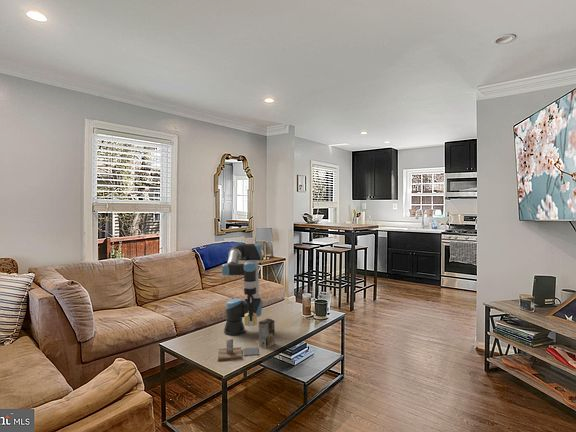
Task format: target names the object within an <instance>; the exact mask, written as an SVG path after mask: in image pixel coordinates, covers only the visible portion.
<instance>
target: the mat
mask: <svg viewBox="0 0 576 432" xmlns="http://www.w3.org/2000/svg"><path fill="white" fill-rule="evenodd" d="M259 354H260V353H259V349H258V347H248V348H247V347H246V348H245V347H244V348H243V357H249V356H259Z"/></svg>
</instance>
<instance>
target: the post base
mask: <svg viewBox="0 0 576 432" xmlns="http://www.w3.org/2000/svg"><path fill="white" fill-rule="evenodd" d="M242 359H243V355H242V347H241V346H238V347H234V339H233V338H227V339H226V348H219V349H218V355H217V362H222V361H236V360H242Z"/></svg>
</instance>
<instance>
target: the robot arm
mask: <svg viewBox="0 0 576 432" xmlns="http://www.w3.org/2000/svg"><path fill="white" fill-rule="evenodd" d="M261 246H262V245H261V244H260V243H240V244H236V245H234V246H233V247H231V248H230V249H229V250H228V253H227V256H228V259H227V262H226V263H223V264H222V265H221V274H222V276H227V277H229V276H243V283H242V285H243V288H244V289H243V294H244V295H246V297H245V298H244V300H243V298H232V299H229V300H228V301H227V302H226V304H225V312H226V313H225V314H226V315H225V318H226V319H225V320H226V321H225V324H224V328H223V333H224V334H225V335H227V336H239V335H241V334H244V333H245V331H246V327H245V323H244V322H243V321H244V320H243V318H244V314H246V313H249V315H248V316H249V326H248V327H253V313H256V314H257V318H258V317H261V315H262V310H263V304H264V303H263V300H262V298H261V296H260V295H259V294H260V292H259V291H260V285H259V282H260V280H259V278H260V277H259V263H260V262H261V260H262V259H263V255H262V253H263V252H262V247H261ZM239 260H245V261H244V262H245V263H239Z"/></svg>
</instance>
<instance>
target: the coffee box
mask: <svg viewBox="0 0 576 432" xmlns="http://www.w3.org/2000/svg"><path fill="white" fill-rule="evenodd" d="M275 330H276V329H275V320H274V319H272V318H266V319H265V318H264V319H262V320H260V321H259V322H258V341H259V342H258V346H259V347H260V348H264V349H267V348H269V347H272V346H273V345H275V344H276V340H275V339H276V337H275V336H276V334H275Z"/></svg>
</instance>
